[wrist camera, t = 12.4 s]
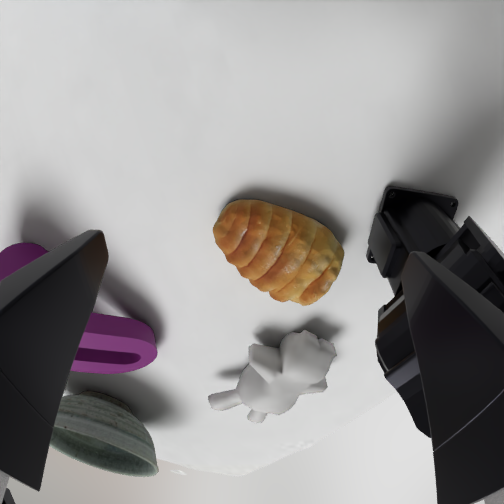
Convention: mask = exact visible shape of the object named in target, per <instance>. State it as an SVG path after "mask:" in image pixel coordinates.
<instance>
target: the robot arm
mask: <svg viewBox="0 0 504 504" xmlns="http://www.w3.org/2000/svg"><path fill="white" fill-rule="evenodd" d="M390 192H394V193H393V195H391V196H389V193H390ZM452 202H453V204H452V205H451V203H452ZM457 207H458V200H457V199H456V198H455V197H453V196H448V195H443V194H437V193H431V192H426V191H420V190H414V189H407V188H401V187H394V186H389V187H387V188H386V189H385V191H384V194H383V198H382V202H381V206H380V209H379V212H378V213H377V214H376V215H375V218H374V222H373V225H372V229H371V232H370V236H369V239H368V244H369V248H368V251H367V255H366V257H367V260H368V262H369V263H376V264H377V266H378V268H379V271H380V273H381V275H382V277H383V278H388V280H389V283H390V285H391V288H392V290H393V293H394V295H395V297H394V298H393V299H392V300H391V301H390V302H389V303H388V304H386V305H383V306H382V307H381V308H380V309H379V310H378V332H377V339H376V340H375V346H376V349H377V357H378V362H379V363H380V366H381V368H382V369H383V371H384V373H385V374H384V376H385V378H386V379H387V380H388V381H389V383H390V384H391V385H392V386H393V387H394V388H395V389H396V390H397V392H398V393H399V394H400V396H401V397H402V399H403V400H404V402H405V404H406V406H407V408H408V410H409V412H410V414H411V416H412V418H413V421H414V423H415V425H416V427H417V428H418V429H419V430H420V431H421V432H423V433H424V434H425V435H426V436H428V437H429V438H432V446H433V451H434V452H433V456H434V465H435V476H436V488H437V503H438V504H474V503H476V502H479V501H481V500H483V499H484V501H485V504H504V254H503V252H502V251H501V250H500V249H499V248H498V246H497V245H496V244H495V243H494V242H493V241H492V240H491V239H490V237H489V236H488V235H487V234H486V233H485V232H484V231H483V230H482V229H481V228H480V227H479V226H478V225H477V223H476V222H475V221H474V220H473V219H472V218H471V217H470V216H468V217H467V219H466V220H465V221H464V223H465V224H464V225H463V226H462V227H461V228H460V227H459V226H458V225H457V224H456V223H455V221H454V220H453V218H454V215H455V213H456V210H457ZM371 256H374V257H373V258H371ZM107 263H108V250H107V246H106V241H105V237H104V234H103V232H102V231H101V230H88V231H86V232H84V233H82V234H80V235H79V236H77V237H75V238H73V239H71V240H69V241H68V242H66V243H64V244H62V245H60V246H58V247H57V248H55V249H53V250H51V251H50V252H48V253H46V254H44V255H43V256H41V257H39V258H37V259H36V260H34V261H32V262H31V263H29V264H27V265H26V266H24V267H22V268H21V269H19V270H17V271H16V272H14V273H12V274H11V275H9V276H7V277H6V278H4V279H3V280H1V282H0V504H15V502H14V499H13V497H12V495H11V493H10V490H9V489H8V488H6V487H7V483H8V480H9V477H11V478H13V479H15V480H17V481H19V482H20V483H22V484H24V485H26V486H29V487H30V488H32V489H35V490H37V491H40V487H41V482H42V477H43V472H44V467H45V463H46V458H47V453H48V449H49V445H50V441H51V437H52V433H53V427H54V424H55V420H56V417H57V413H58V410H59V406H60V403H61V399H62V396H63V392H64V389H65V386H66V383H67V380H68V376H69V373H70V370H71V367H72V364H73V361H74V358H75V356H76V353H77V350H78V347H79V344H80V341H81V339H82V336H83V333H84V331H85V328H86V325H87V323H88V320H89V318H90V315H91V312H92V310H93V307H94V305H95V302H96V299H97V295H98V292H99V289H100V285H101V282H102V279H103V275H104V272H105V269H106V266H107Z"/></svg>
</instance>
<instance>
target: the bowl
mask: <svg viewBox="0 0 504 504" xmlns="http://www.w3.org/2000/svg"><path fill="white" fill-rule="evenodd" d="M49 446H51V447H52V448H54V449H56V450H57V451H59V452H61V453H63V454H65V455H67V456H69V457H71V458H73V459H75V460H77V461H80V462H82V463H85V464H88V465H90V466H93V467H96V468H99V469H102V470H105V471H109V472H113V473H117V474H122V475H128V476H136V477H149V476H154V475H156V474H157V473H158V471H159V469H158V466H157V461H156V454H155V448H154V444H153V441H152V438H151V436H150V434H149V432H148V431H147V429H146V428H145V427H144V425H143V424H142V423H141V422H140V421H139V420H138V419H137V418H136V417H134V416H133V415H132V412H131V410H130V409H129V408H128V406H126V405H125V404H124V403H122V402H121V401H119V400H117V399H115V398H112V397H110V396H108V395H105V394H102V393H98V392H92V391H85V392H82V393H81V394H80V395H68V396H64V397H62V399H61V403H60V406H59V410H58V413H57V417H56V420H55V424H54V427H53V433H52V437H51V441H50V445H49Z"/></svg>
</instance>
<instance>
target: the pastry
mask: <svg viewBox="0 0 504 504" xmlns="http://www.w3.org/2000/svg"><path fill="white" fill-rule="evenodd" d="M213 234H214V237H215V242H216V244H217V245H218V247H219V248H220V249H221V250H222V251H223V253H224V254H225V256H226V259H227V261H228V262H229V263H231V264H233V265H235V266H236V267H237V269H238V271H239V273H240V274H241V276H242V277H244V278H248V279H249V281H250V283H251V284H252V285H253V286H255V287H257V288H258V289H259V290H260V291H263V292H267V291H269V294H270V296H271V297H272V298H273V299H275V300H277V301H280V302H286V301H288V300H291V301H293V302H296V303H300V304H301V305H302V306H306V305H310V304H313V303H314V302H316V301H317V300H318V299H320V298H321V297H322V296H323V295H325V294H326V293H327V292H328V291H329V289H330V287H331V285H332V283H333V282H334V281H335V280H336V278H337V276H338V274H339V272H340V269H341V266H342V261H343V258H344V250H343V248H342V246H341V245H340V243H339V242H338V241H337V240H336V238H335V237H334V235H333V233H332V232H331V231H330V230H329V229H328V228H327V227H325V226H324V225H322V224H321V223H319V222H318V221H316V220H315V219H312V218H310V217H307V216H304V215H303V214H300V213H297V212H295V211H293V210H290V209H286V208H283V207H280V206H277V205H274V204H271V203H268V202H264V201H260V200H255V199H254V200H244V199H240V200H236V201H233V202H231V203H229V204H228V205H227V206H226V207H225V208H224V209H223V210H222V212H221V213H220V216H219V218H218V220H217V221H216V223H215V225H214V227H213Z"/></svg>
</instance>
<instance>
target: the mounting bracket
mask: <svg viewBox="0 0 504 504" xmlns="http://www.w3.org/2000/svg"><path fill="white" fill-rule="evenodd" d="M46 253H48V251H47V250H45V249H44V248H43V247H41V246H40V245H37V244H33V243H18V244H14V245H11V246H9V247H7V248H5V249H4V250H3V251H2V252H1V253H0V282H1V280H3V279H4V278H6V277H7V276H9V275H11V274H12V273H14V272H16V271H17V270H19V269H21V268H22V267H24V266H26V265H27V264H29V263H31V262H32V261H34V260H36V259H37V258H39V257H41V256H43V255H44V254H46ZM156 357H157V348H156V343H155V337H154V332H153V330H152V329H151V328H150V327H149V326H148V325H147V324H145V323H143V322H140V321H138V320H134V319H130V318H124V317H117V316H110V315H104V314H97V313H91V315H90V318H89V320H88V323H87V325H86V328H85V331H84V333H83V336H82V339H81V341H80V344H79V347H78V350H77V353H76V356H75V358H74V361H73V364H72V367H71V370H70V371H77V372H88V373H100V374H116V373H124V372H130V371H134V370H137V369H140V368H142V367H145V366H147V365H148V364H150V363H151V362H153V361H154V360H155V358H156Z"/></svg>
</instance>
